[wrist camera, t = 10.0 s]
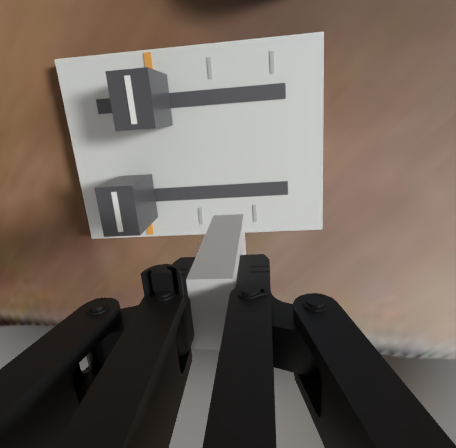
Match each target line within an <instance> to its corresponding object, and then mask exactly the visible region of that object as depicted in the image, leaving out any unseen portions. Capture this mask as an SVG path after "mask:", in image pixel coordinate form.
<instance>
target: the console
mask: <svg viewBox="0 0 456 448" xmlns="http://www.w3.org/2000/svg"><path fill="white" fill-rule="evenodd" d="M54 60H55V64H56V69H57V74H58V79H59V84H60V88H61V93H62V98H63V103H64V108H65V112H66V117H67V122H68V127H69V132H70V136H71V141H72V146H73V151H74V156H75V160H76V165H77V170H78V175H79V180H80V184H81V189H82V194H83V199H84V204H85V208H86V213H87V218H88V223H89V228H90V232H91V237H92V239H96V238H121V237H146V236H170V235H195V234H206V232H207V229H208V227H209V225H210V222H211V220H212V218H213V215H236V214H244V229H245V232H269V231H294V230H319V229H322V212H323V80H324V32H316V33H306V34H296V35H287V36H277V37H267V38H257V39H248V40H238V41H228V42H219V43H209V44H199V45H189V46H180V47H170V48H160V49H151V50H141V51H131V52H121V53H112V54H102V55H92V56H83V57H73V58H63V59H54ZM144 67H149V68H151V69H154V70H157V71H159V72H162V73H165V74H167V80H168V88H169V96H170V105H171V113H172V122H173V126H167V127H161V128H154V129H140V130H127V131H115V126H114V120H113V114H112V108H111V102H110V96H109V90H108V85H107V79H106V73H105V71H113V70H123V69H133V68H144ZM145 174H152V178H153V185H154V191H155V198H156V205H157V212H158V218H157V219H156V220H155V221H154V222H153V223H152V224H151V225H150V226H149V227H148V228H147V229H146V230H145V231H144V232H143V233H142V234H141V235H139V236H115V237H104V235H103V230H102V225H101V220H100V215H99V210H98V204H97V199H96V194H95V189H94V188H95V187H97V186H99V185H101V184H103V183H106V182H108V181H110V180H112V179H114V178H117V177H119V176H128V175H145Z"/></svg>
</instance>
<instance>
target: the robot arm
mask: <svg viewBox="0 0 456 448" xmlns="http://www.w3.org/2000/svg"><path fill="white" fill-rule="evenodd" d="M141 278H142V284H143V289H144V295H145V296H144V298H143V299H142V301H141V303H140V304H139V305H137V306H133V307H128V308H123V309H120V305H119V302H118V301H117V300H116V299H113V298H100V299H99V298H98V299H94V300H92V301H90V302H87V303H86V304H84V305H82V306H81V307H80V308H78V309H77V310H76V311H74V312H73V313H72V314H71V315H69V316H68V317H67V318H66V319H64V320H63V321H62V322H60V323H59V324H58V325H57V326H55V327H54V328H53V329H51V330H50V331H49V332H48V333H46V334H45V335H44V336H42V337H41V338H40V339H39V340H38V341H36V342H35V343H34V344H32V345H31V346H30V347H28V348H27V349H26V350H24V351H23V352H22V353H21V354H19V355H18V356H17V357H16V358H14V359H13V360H12V361H11V362H9V363H8V364H6V365H5V366H4V367H3V368H2V369H1V370H0V448H169V444H170V440H171V437H172V433H173V429H174V426H175V422H176V418H177V414H178V410H179V407H180V403H181V399H182V396H183V392H184V388H185V385H186V381H187V377H188V373H189V370H190V366H191V362H192V351H191V344H192V341H193V338H194V346H195V350H220V352H219V357H218V363H217V369H216V375H215V380H214V386H213V391H212V397H211V403H210V408H209V414H208V420H207V426H206V431H205V437H204V443H203V448H276V426H275V396H274V367H275V368H279V369H283V370H287V371H290V372H294V376H295V380H296V383H297V385H298V387H299V389H300V392H301V394H302V396H303V399H304V401H305V403H306V406H307V408H308V410H309V412H310V414H311V417H312V419H313V421H314V424H315V426H316V428H317V431H318V433H319V435H320V437H321V439H322V442H323V444H324V447H325V448H456V445H455V444H454V443H453V442H452V441H451V439H450V438H449V437H448V436H447V435H446V433H445V432H444V431H443V430H442V429H441V427H440V426H439V425H438V424H437V423H436V421H435V420H434V419H433V418H432V416H431V415H430V414H429V413H428V412H427V411H426V409H425V408H424V407H423V405H422V404H421V403H420V402H419V401H418V399H417V398H416V397H415V396H414V395H413V393H412V392H411V391H410V390H409V389H408V387H407V386H406V385H405V384H404V382H403V381H402V380H401V379H400V378H399V376H398V375H397V374H396V373H395V372H394V370H393V369H392V368H391V367H390V366H389V364H388V363H387V362H386V361H385V359H384V358H383V357H382V356H381V355H380V353H379V352H378V351H377V350H376V349H375V347H374V346H373V345H372V344H371V343H370V341H369V340H368V339H367V338H366V336H365V335H364V334H363V333H362V332H361V330H360V329H359V328H358V327H357V326H356V324H355V323H354V322H353V321H352V320H351V318H350V317H349V316H348V315H347V313H346V312H345V311H344V310H343V309H342V307H341V306H340V305H339V304H338V303H337V302H336V301H335V300H334V299H333V298H331V297H329V296H326V295H323V294H318V293H313V294H305V295H301V296H299V297H298V298H296V299H295V301H294V303H293V304H289V303H285V302H282V301H280V300H277V299H276V298H275V297H273V295H272V294H271V290H270V265H269V259H268V258H267V257H266V256H265V255H264V254H258V255H246V245H245V229H244V214H236V215H213V218H212V220H211V222H210V225H209V227H208V229H207V232H206V234H205V236H204V239H203V241H202V243H201V246H200V248H199V251H198V253H197V255H196V257H184V258H180V259H178V260H177V261H175V262H174V263H173V264H172V265H171V264H162V265H156V266H153V267H150V268H148V269H146V270H144V271H143V272H142V273H141ZM85 356H86V357H87V360H88V364H89V366H88V367H87V368H86V369H85V370H84V371H81V369H80V365H79V362H80V361H81V360H82V359H83V358H84V357H85Z"/></svg>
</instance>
